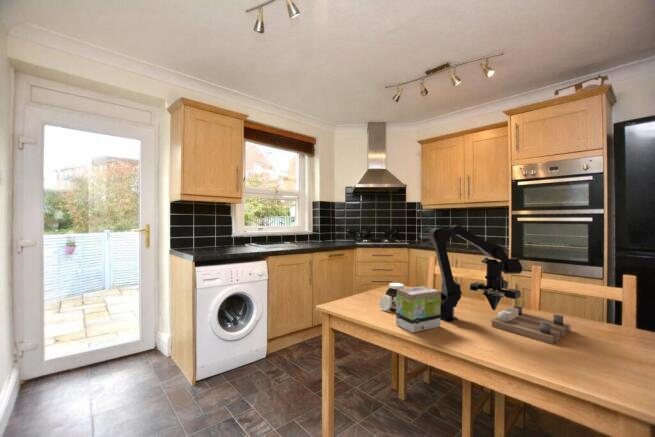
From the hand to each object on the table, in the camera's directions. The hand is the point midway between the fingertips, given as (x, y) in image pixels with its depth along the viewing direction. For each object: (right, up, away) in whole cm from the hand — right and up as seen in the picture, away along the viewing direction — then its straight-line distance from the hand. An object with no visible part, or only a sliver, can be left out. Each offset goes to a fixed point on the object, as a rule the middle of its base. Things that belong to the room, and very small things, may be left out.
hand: (493, 309), depth 125 cm
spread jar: (-41, -4, +13) cm, 43 cm away
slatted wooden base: (+8, -4, -11) cm, 14 cm away
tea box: (-35, -4, -8) cm, 36 cm away
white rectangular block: (+2, -1, -7) cm, 7 cm away
